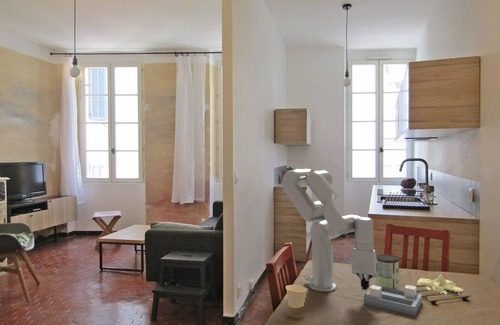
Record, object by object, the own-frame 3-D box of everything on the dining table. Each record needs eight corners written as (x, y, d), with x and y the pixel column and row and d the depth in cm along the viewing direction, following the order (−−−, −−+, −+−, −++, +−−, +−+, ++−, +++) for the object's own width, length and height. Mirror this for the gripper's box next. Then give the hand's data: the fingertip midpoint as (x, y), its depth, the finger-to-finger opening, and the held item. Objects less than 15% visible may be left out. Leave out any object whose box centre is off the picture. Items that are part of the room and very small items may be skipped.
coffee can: (375, 281, 178) (375, 253, 177) (398, 284, 174) (398, 255, 174) (375, 289, 168) (375, 259, 168) (399, 292, 165) (399, 261, 164)
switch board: (363, 303, 152) (363, 295, 152) (374, 292, 164) (374, 284, 164) (414, 316, 141) (414, 307, 141) (422, 302, 153) (422, 294, 153)
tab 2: (404, 299, 152) (404, 287, 152) (406, 296, 155) (406, 284, 155) (414, 301, 150) (414, 289, 150) (416, 298, 153) (416, 286, 153)
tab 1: (369, 299, 152) (369, 287, 152) (372, 296, 155) (372, 285, 155) (379, 301, 150) (379, 289, 150) (381, 298, 153) (381, 286, 153)
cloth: (410, 280, 181) (410, 268, 181) (447, 280, 181) (447, 268, 181) (432, 298, 159) (432, 284, 159) (474, 298, 158) (474, 284, 158)
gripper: (344, 246, 156) (345, 288, 156) (379, 250, 147) (380, 295, 147) (350, 242, 162) (351, 283, 162) (384, 246, 153) (385, 289, 154)
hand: (365, 288), depth 155 cm, fingers closed
